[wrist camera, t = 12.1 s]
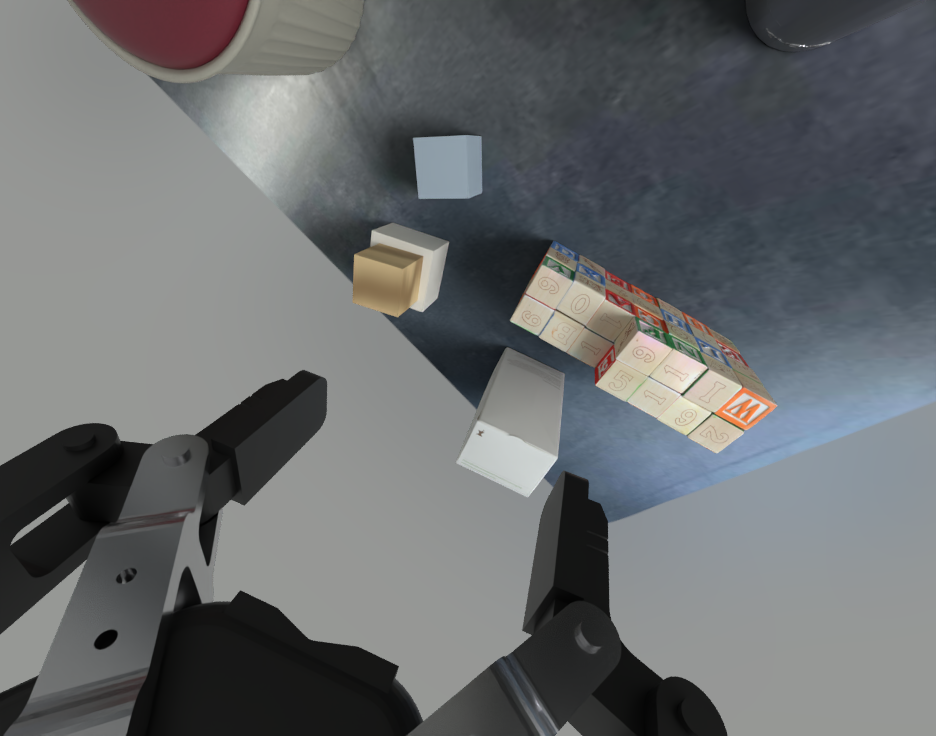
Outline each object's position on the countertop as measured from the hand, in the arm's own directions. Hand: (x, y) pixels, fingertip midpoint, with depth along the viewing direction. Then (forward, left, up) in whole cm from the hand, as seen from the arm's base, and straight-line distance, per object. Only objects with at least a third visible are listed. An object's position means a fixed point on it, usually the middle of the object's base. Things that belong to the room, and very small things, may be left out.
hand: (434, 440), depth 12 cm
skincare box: (+17, +3, -33) cm, 37 cm away
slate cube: (-4, -11, -33) cm, 35 cm away
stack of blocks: (+5, +10, -33) cm, 35 cm away
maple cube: (+7, -14, -28) cm, 32 cm away
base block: (+7, -14, -33) cm, 37 cm away
